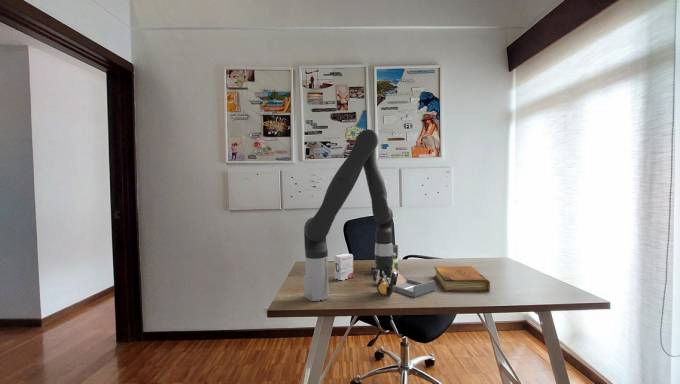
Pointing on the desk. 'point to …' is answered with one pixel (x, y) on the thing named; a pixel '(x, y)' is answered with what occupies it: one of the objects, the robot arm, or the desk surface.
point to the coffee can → (395, 256)
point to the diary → (461, 279)
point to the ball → (383, 288)
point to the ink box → (343, 266)
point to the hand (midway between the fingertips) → (384, 293)
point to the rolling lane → (411, 286)
